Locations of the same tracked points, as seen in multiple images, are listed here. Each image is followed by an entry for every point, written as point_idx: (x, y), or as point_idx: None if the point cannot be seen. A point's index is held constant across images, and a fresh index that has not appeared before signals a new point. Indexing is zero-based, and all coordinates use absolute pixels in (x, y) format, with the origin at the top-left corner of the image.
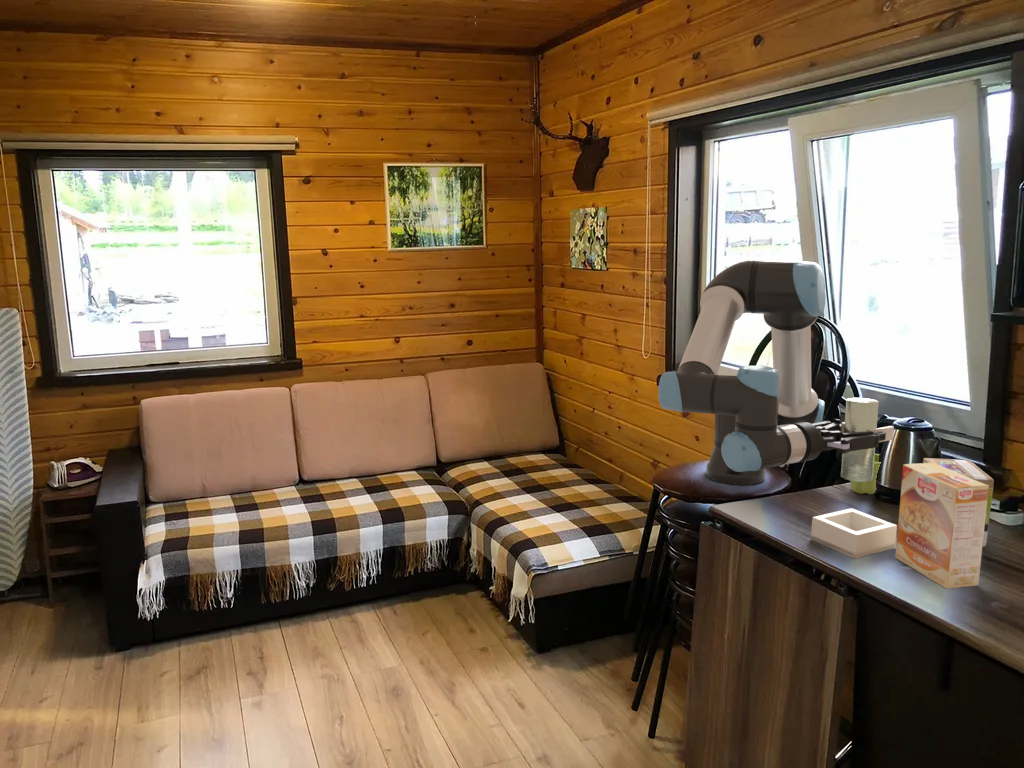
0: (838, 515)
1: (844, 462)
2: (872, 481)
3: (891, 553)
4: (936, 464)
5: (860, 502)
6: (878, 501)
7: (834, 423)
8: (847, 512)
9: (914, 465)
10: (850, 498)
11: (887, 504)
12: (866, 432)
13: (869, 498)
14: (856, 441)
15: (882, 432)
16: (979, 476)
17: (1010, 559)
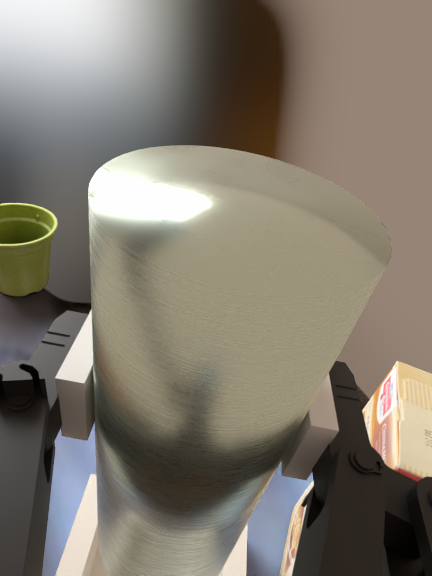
0: (84, 569)
1: (136, 569)
2: (40, 269)
3: (250, 572)
4: (419, 372)
5: (39, 332)
6: (68, 309)
7: (5, 420)
8: (97, 520)
9: (426, 445)
10: (12, 325)
11: (88, 313)
12: (361, 499)
13: (46, 306)
14: None
15: (333, 369)
16: None
17: (365, 402)
